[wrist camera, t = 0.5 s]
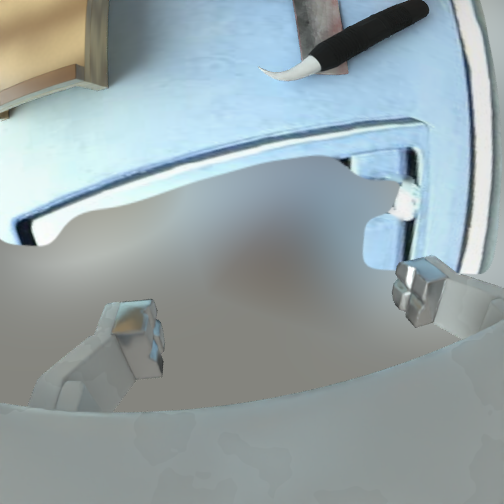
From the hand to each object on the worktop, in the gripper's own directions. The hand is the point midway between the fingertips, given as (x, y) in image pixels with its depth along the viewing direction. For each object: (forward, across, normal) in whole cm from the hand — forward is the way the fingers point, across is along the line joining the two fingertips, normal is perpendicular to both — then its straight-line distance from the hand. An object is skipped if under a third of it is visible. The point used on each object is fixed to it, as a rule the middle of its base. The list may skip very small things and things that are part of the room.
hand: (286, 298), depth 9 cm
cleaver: (+21, -10, -17) cm, 29 cm away
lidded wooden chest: (+21, +16, -17) cm, 32 cm away
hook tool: (+21, -13, -14) cm, 28 cm away
